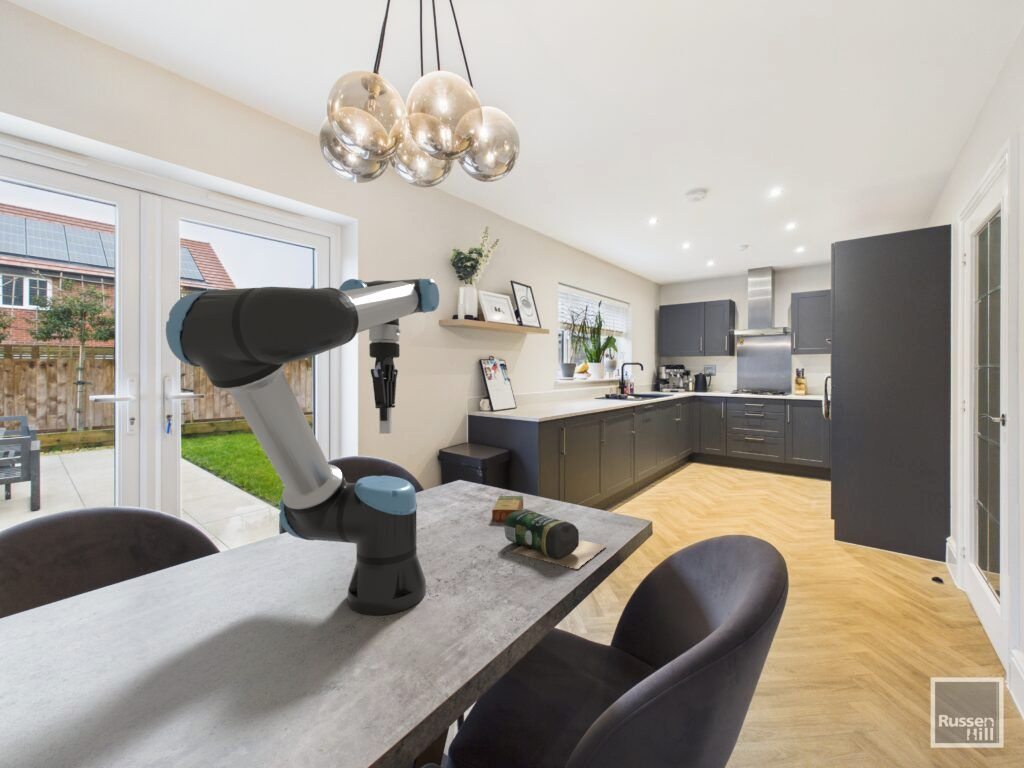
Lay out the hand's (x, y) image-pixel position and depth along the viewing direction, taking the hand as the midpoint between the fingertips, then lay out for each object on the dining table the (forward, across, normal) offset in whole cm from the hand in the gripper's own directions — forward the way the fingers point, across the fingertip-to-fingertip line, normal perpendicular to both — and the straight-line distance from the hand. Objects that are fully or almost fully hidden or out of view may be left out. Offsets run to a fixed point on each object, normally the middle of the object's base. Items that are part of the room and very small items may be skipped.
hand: (385, 433), depth 116 cm
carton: (+30, +28, -29) cm, 50 cm away
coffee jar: (+25, +6, -33) cm, 42 cm away
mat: (+29, 0, -45) cm, 54 cm away
